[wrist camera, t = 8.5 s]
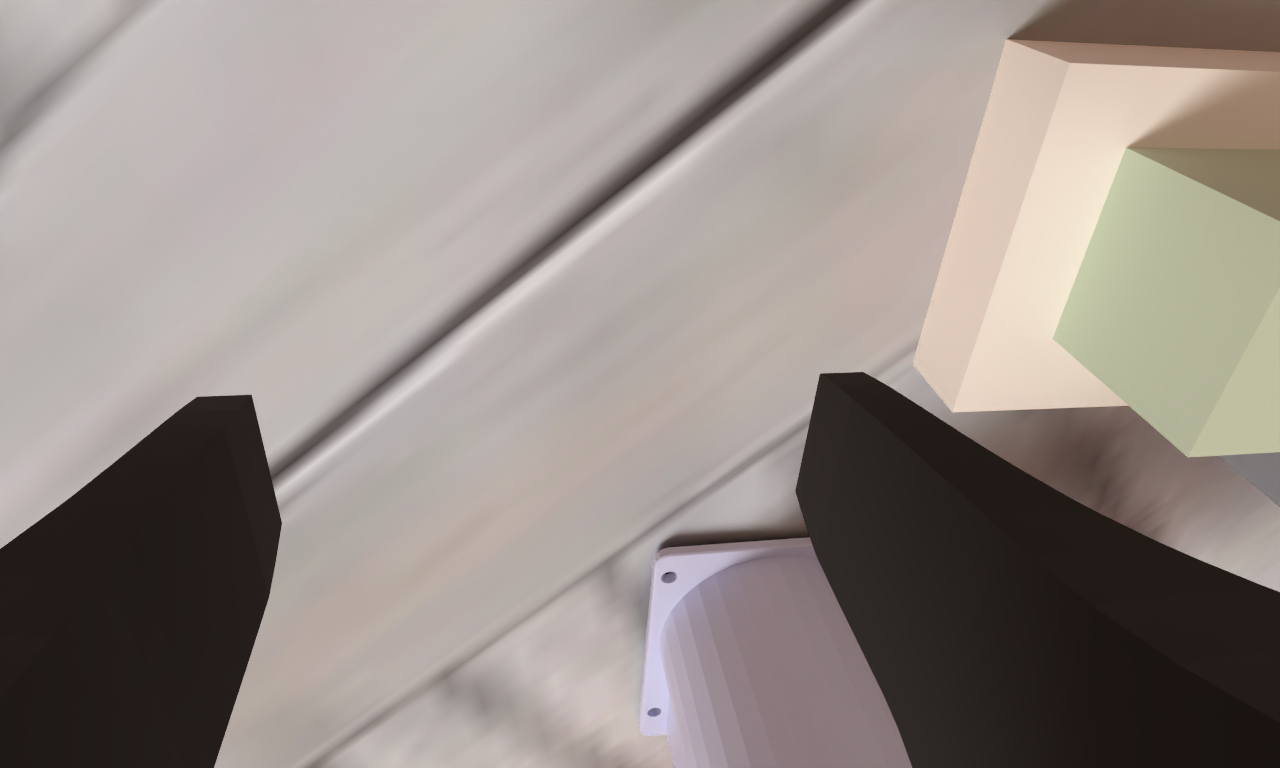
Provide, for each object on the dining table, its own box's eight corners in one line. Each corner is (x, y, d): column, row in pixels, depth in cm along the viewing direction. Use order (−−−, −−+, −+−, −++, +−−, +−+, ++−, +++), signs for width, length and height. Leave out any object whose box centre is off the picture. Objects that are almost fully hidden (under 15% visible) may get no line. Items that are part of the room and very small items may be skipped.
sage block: (1218, 333, 22) (1386, 446, 18) (1051, 337, 21) (1187, 457, 17) (1312, 150, 19) (1535, 233, 15) (1125, 147, 19) (1307, 234, 14)
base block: (1166, 348, 26) (1238, 401, 24) (905, 355, 25) (952, 412, 22) (1311, 50, 21) (1420, 77, 19) (996, 35, 20) (1069, 62, 17)
